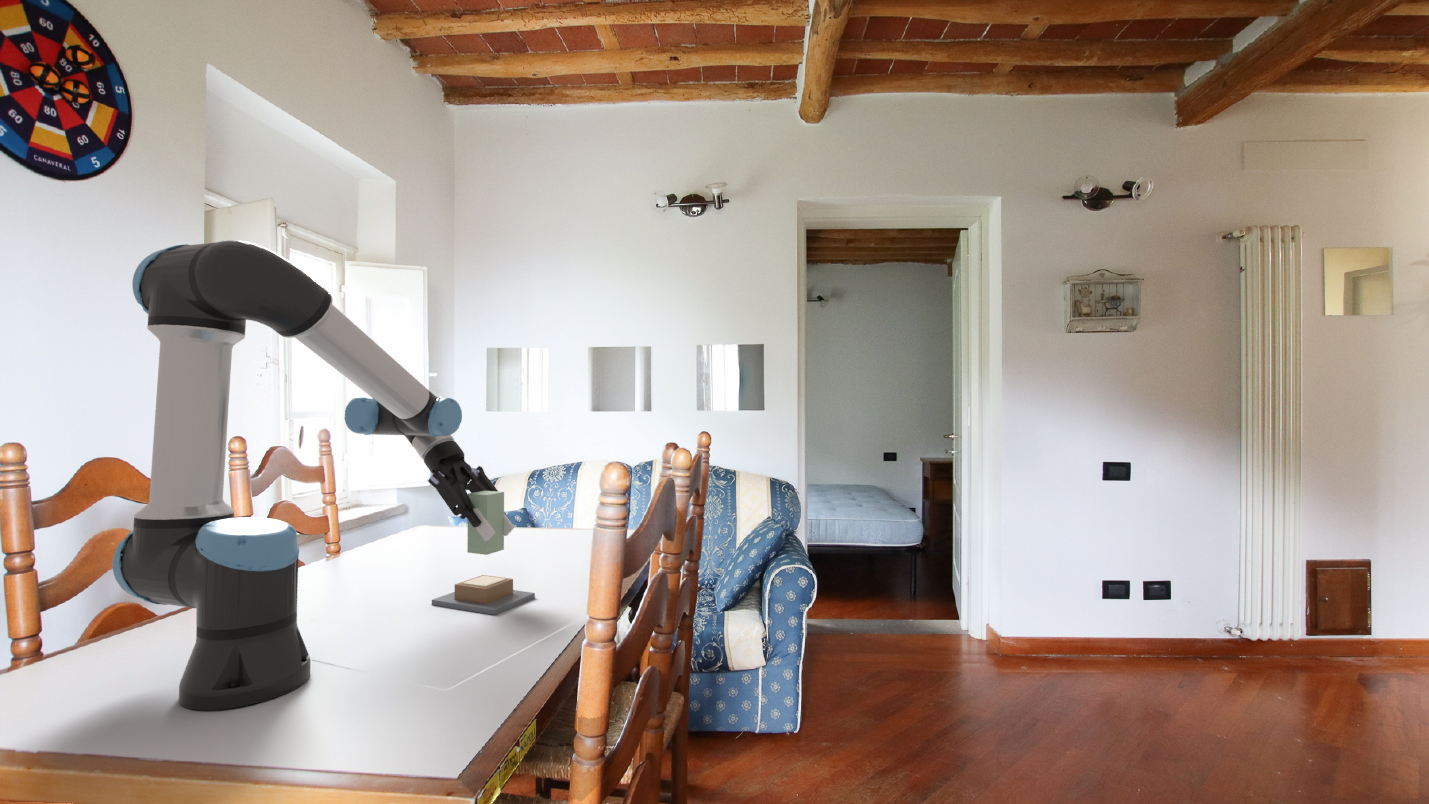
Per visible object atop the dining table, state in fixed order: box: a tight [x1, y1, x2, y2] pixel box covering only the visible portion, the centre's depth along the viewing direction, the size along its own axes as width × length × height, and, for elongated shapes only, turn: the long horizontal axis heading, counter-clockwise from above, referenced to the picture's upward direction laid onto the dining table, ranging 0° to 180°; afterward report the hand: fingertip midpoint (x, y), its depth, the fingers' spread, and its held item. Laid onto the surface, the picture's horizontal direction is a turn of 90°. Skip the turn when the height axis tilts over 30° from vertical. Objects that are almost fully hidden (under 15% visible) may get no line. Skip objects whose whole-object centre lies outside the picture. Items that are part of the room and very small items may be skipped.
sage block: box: [466, 491, 505, 556], centre depth 131 cm, size 5×5×12 cm
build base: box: [431, 574, 536, 616], centre depth 131 cm, size 12×16×4 cm
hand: (500, 534), depth 130 cm, fingers closed on sage block, 5 cm apart
